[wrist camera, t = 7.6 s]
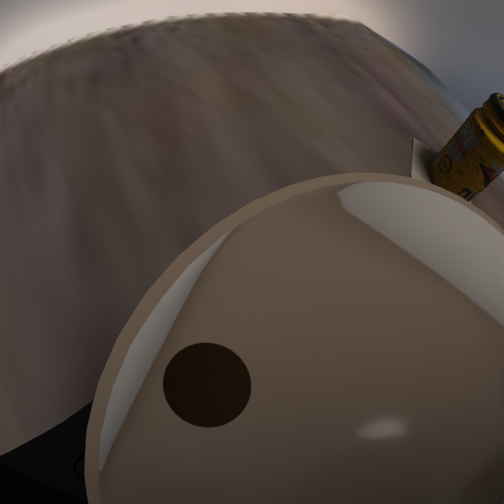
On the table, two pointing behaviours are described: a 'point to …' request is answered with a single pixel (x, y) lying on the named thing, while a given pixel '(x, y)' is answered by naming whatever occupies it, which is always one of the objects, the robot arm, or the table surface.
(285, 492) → the tumbler
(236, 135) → the table surface
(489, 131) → the condiment
